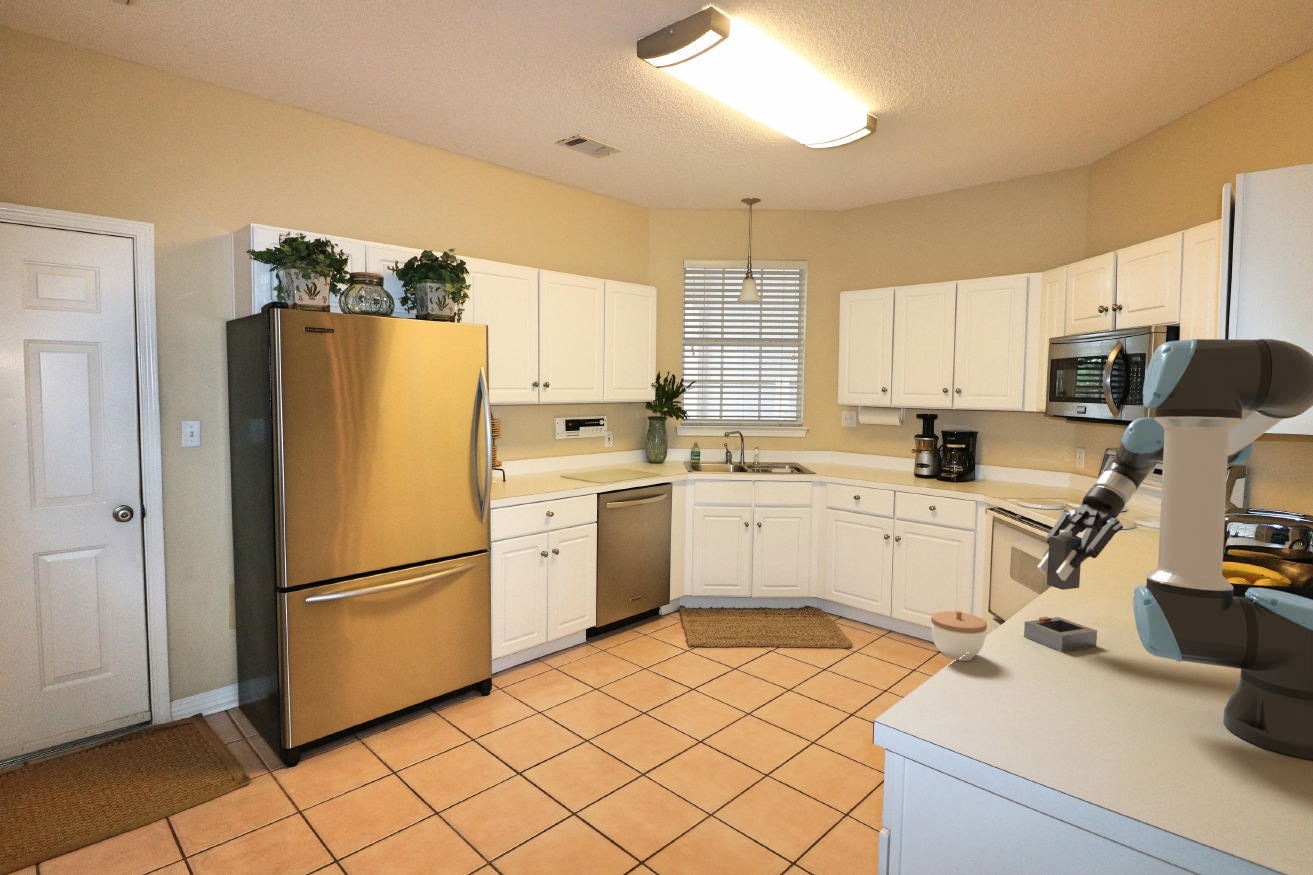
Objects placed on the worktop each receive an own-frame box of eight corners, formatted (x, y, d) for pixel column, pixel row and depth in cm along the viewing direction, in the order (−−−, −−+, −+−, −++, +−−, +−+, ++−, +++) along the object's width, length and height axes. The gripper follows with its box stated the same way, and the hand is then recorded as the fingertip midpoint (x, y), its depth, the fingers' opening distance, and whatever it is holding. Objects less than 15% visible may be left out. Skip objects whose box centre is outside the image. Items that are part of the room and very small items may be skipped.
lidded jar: (926, 658, 143) (928, 614, 142) (932, 642, 152) (934, 600, 152) (984, 669, 138) (986, 623, 137) (986, 651, 148) (988, 608, 147)
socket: (1096, 645, 152) (1097, 627, 151) (1061, 651, 148) (1062, 633, 148) (1057, 631, 160) (1058, 614, 160) (1023, 636, 157) (1024, 619, 157)
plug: (1079, 587, 152) (1082, 531, 152) (1062, 589, 151) (1066, 533, 150) (1062, 582, 156) (1066, 528, 155) (1046, 584, 154) (1049, 529, 154)
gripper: (1154, 513, 150) (1095, 595, 145) (1081, 501, 166) (1026, 574, 161) (1138, 490, 147) (1078, 572, 143) (1066, 480, 163) (1010, 553, 159)
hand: (1051, 573), depth 152 cm, fingers closed on plug, 4 cm apart
